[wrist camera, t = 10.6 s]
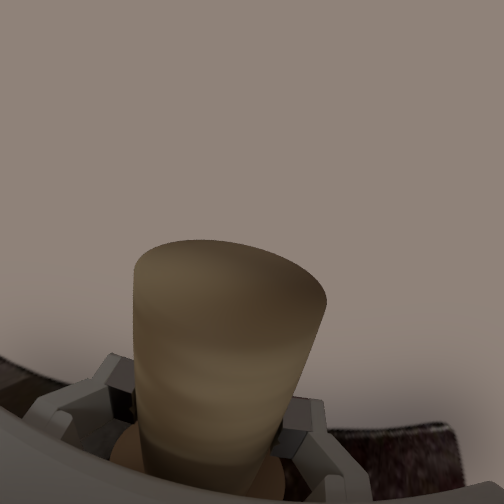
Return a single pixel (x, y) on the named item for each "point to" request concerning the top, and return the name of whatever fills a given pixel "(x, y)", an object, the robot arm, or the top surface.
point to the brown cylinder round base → (216, 363)
